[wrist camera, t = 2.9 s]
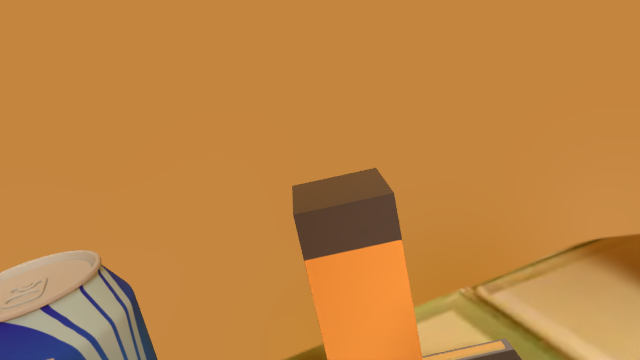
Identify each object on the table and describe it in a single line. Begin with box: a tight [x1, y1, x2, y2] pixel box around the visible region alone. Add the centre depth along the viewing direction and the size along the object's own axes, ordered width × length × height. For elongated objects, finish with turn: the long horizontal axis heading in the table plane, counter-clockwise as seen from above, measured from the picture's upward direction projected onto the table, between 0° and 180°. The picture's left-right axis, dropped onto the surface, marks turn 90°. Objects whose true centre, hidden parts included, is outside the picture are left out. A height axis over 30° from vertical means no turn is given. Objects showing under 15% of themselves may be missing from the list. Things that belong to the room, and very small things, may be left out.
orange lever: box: [292, 168, 422, 360], centre depth 23 cm, size 4×4×15 cm
